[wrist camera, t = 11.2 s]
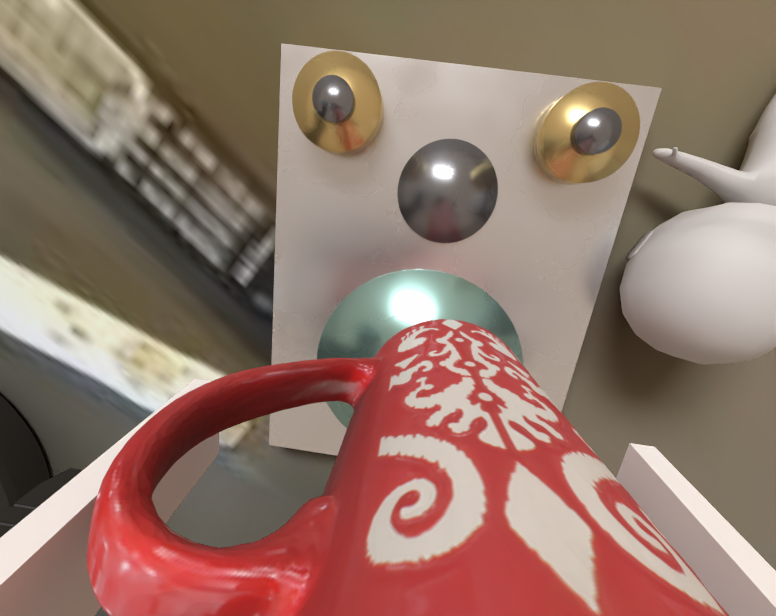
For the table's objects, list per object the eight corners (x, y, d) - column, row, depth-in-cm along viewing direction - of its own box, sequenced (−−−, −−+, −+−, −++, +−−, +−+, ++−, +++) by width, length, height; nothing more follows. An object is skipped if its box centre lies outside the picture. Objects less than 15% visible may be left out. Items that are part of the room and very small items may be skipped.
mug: (587, 364, 16) (1302, 1055, 3) (470, 497, 19) (590, 1172, 6) (342, 212, 15) (-136, 299, 2) (254, 376, 17) (-200, 872, 5)
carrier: (277, 430, 20) (254, 469, 17) (291, 55, 15) (261, 20, 12) (530, 470, 19) (550, 516, 16) (641, 97, 14) (699, 71, 11)
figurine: (1068, 54, 10) (877, 430, 10) (846, 148, 15) (720, 395, 15) (781, -43, 11) (605, 300, 11) (666, 78, 16) (546, 309, 16)
